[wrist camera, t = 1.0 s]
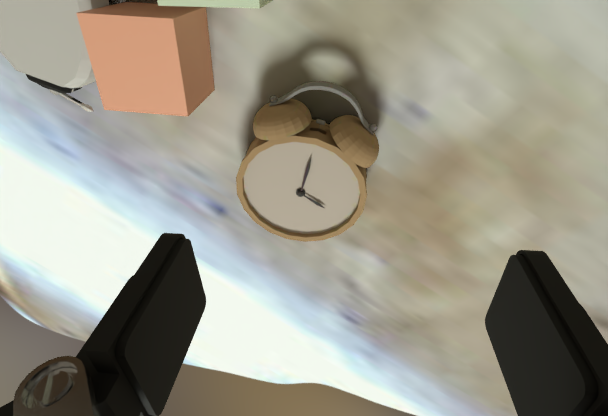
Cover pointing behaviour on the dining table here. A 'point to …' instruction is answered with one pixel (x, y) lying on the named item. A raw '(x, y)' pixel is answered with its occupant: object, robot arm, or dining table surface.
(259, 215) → the alarm clock
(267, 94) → the dining table surface
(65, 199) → the dining table surface
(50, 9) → the robot toy
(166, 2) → the sage cube
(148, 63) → the terracotta cube
